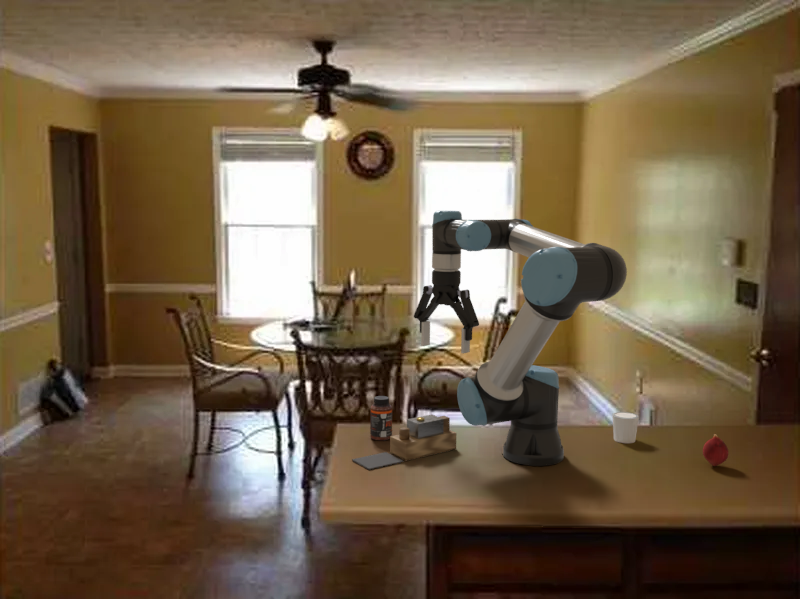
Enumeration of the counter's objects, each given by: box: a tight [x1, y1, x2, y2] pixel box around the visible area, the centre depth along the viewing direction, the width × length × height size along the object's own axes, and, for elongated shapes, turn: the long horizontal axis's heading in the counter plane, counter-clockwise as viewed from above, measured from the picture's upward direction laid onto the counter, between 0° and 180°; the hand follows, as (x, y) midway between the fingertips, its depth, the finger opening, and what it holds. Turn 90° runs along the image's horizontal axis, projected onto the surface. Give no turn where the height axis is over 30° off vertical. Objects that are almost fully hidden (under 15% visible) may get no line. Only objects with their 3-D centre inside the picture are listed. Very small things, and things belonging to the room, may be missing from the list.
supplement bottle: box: [369, 395, 393, 442], centre depth 210 cm, size 6×6×11 cm
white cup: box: [611, 411, 639, 444], centre depth 209 cm, size 7×7×7 cm
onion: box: [702, 433, 729, 467], centre depth 189 cm, size 6×6×8 cm
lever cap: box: [406, 414, 444, 439], centre depth 199 cm, size 5×8×4 cm, turn 124°
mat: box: [351, 451, 404, 471], centre depth 192 cm, size 8×10×1 cm
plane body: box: [389, 415, 457, 462], centre depth 199 cm, size 16×7×8 cm, turn 124°
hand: (445, 348), depth 206 cm, fingers open, 13 cm apart
